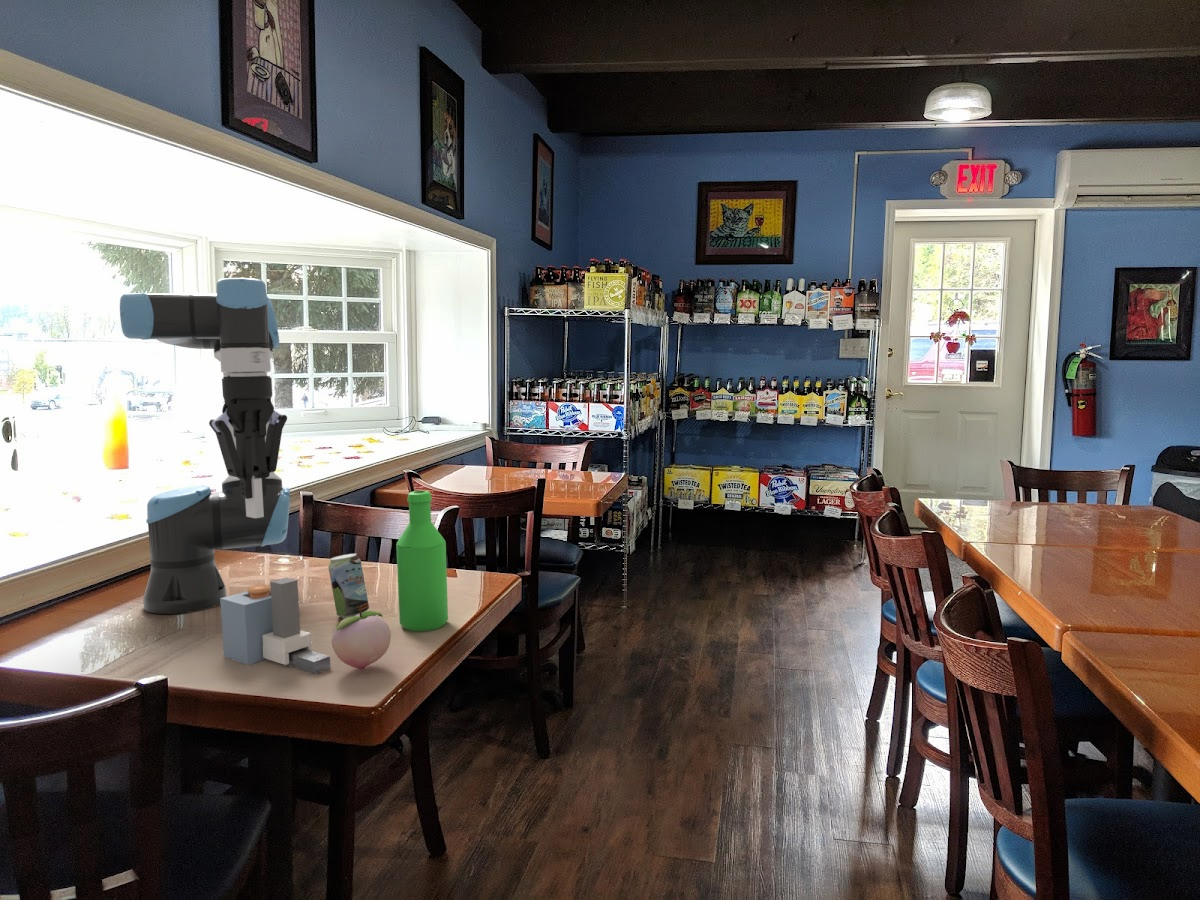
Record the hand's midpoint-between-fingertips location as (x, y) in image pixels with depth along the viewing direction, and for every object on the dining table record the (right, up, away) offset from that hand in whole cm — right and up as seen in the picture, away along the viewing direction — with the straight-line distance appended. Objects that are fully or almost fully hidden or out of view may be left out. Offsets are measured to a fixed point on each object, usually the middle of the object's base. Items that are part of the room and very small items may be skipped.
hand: (255, 516), depth 142 cm
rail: (+9, -24, -3) cm, 25 cm away
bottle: (+25, -22, +16) cm, 37 cm away
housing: (0, -23, +3) cm, 23 cm away
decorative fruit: (+20, -24, -6) cm, 32 cm away
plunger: (0, -17, +2) cm, 17 cm away
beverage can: (+10, -21, +22) cm, 32 cm away
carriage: (+6, -24, -1) cm, 24 cm away
